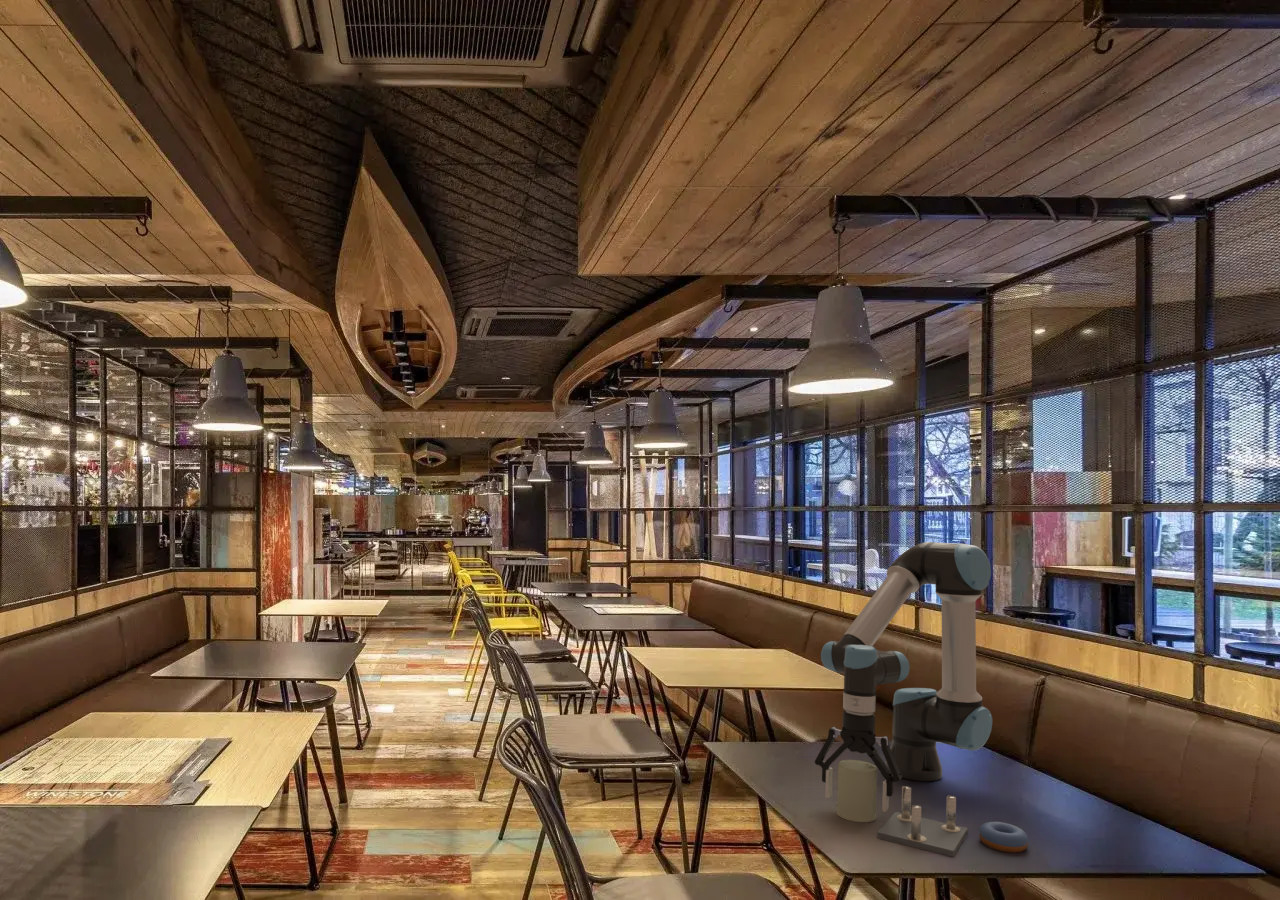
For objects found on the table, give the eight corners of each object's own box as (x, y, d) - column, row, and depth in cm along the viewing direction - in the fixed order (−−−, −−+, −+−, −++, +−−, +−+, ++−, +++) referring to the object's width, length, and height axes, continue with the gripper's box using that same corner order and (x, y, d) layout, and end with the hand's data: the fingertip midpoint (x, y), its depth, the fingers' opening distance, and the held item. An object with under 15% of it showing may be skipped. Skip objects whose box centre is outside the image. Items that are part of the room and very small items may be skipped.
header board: (895, 817, 194) (895, 810, 194) (967, 833, 186) (967, 827, 186) (877, 837, 181) (877, 831, 181) (953, 856, 172) (953, 849, 172)
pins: (902, 816, 191) (903, 785, 192) (956, 828, 185) (956, 796, 186) (886, 834, 180) (887, 801, 180) (943, 848, 173) (944, 814, 174)
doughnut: (999, 855, 174) (1001, 832, 175) (968, 839, 183) (969, 817, 184) (1038, 856, 177) (1039, 834, 177) (1005, 840, 186) (1006, 819, 187)
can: (877, 824, 189) (879, 771, 190) (836, 819, 191) (838, 766, 191) (874, 810, 198) (876, 759, 199) (835, 806, 200) (836, 755, 200)
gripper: (803, 705, 199) (800, 795, 198) (908, 723, 186) (906, 820, 185) (814, 700, 206) (811, 787, 204) (916, 717, 193) (914, 810, 191)
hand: (856, 803), depth 194 cm, fingers open, 13 cm apart
